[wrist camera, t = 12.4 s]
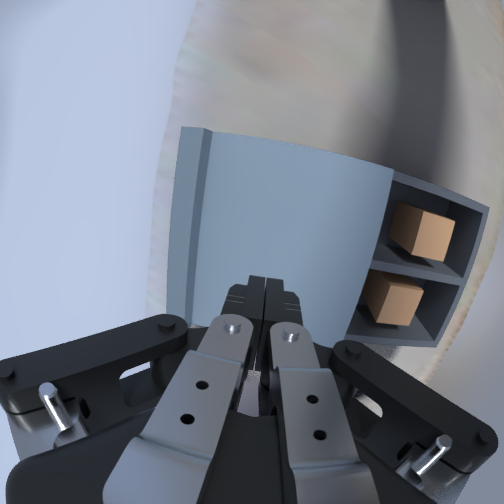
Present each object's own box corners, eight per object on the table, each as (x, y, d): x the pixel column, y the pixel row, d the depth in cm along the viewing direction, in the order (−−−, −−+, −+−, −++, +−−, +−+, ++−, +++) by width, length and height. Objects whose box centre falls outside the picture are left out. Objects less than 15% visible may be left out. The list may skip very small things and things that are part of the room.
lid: (196, 130, 19) (181, 126, 16) (389, 168, 19) (408, 171, 16) (179, 314, 25) (166, 335, 21) (337, 341, 24) (344, 366, 21)
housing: (347, 161, 26) (371, 163, 19) (451, 195, 26) (489, 207, 19) (314, 300, 32) (322, 338, 25) (412, 313, 31) (436, 347, 24)
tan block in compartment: (371, 261, 28) (390, 285, 23) (401, 267, 28) (423, 291, 23) (361, 293, 30) (376, 322, 24) (390, 298, 30) (408, 325, 24)
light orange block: (397, 200, 26) (423, 211, 20) (426, 208, 26) (455, 221, 20) (388, 235, 27) (411, 254, 22) (417, 242, 27) (443, 261, 22)
